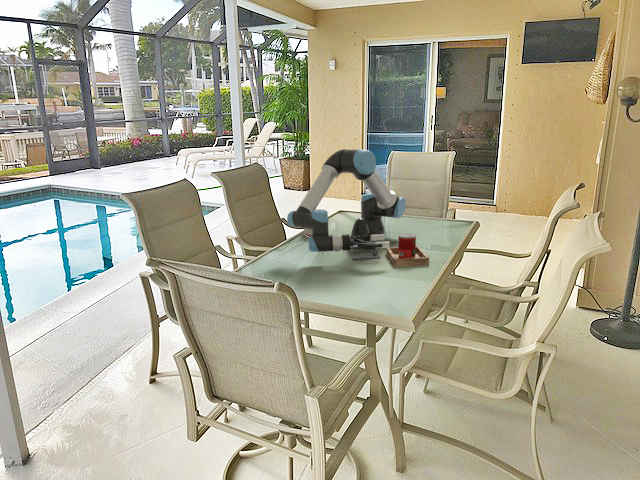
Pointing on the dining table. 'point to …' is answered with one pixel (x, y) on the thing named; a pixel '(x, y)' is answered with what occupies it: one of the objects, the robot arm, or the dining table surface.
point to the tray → (418, 260)
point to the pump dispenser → (360, 228)
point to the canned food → (407, 245)
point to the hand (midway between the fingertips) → (386, 240)
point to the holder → (364, 257)
